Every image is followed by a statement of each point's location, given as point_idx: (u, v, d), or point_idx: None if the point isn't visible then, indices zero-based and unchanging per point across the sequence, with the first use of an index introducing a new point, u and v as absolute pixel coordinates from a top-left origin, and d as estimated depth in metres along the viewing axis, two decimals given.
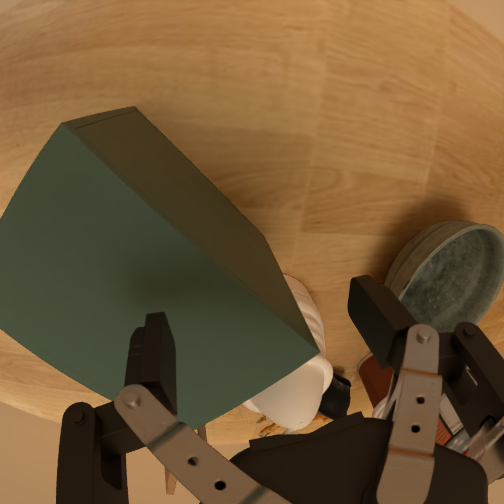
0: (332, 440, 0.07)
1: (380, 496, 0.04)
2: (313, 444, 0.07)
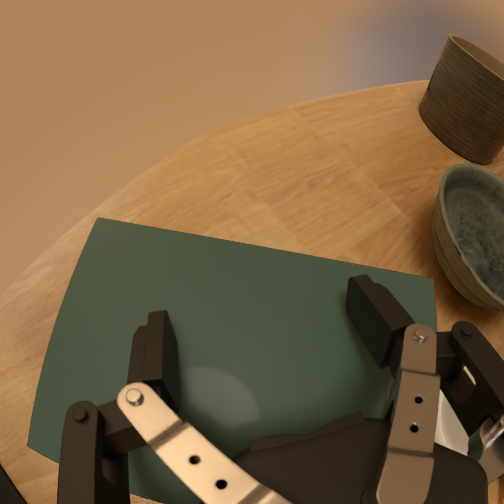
0: (332, 440, 0.07)
1: (380, 496, 0.04)
2: (313, 444, 0.07)
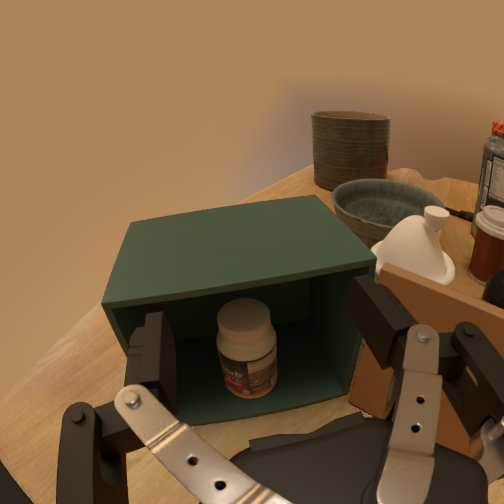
0: (332, 440, 0.07)
1: (380, 496, 0.04)
2: (313, 444, 0.07)
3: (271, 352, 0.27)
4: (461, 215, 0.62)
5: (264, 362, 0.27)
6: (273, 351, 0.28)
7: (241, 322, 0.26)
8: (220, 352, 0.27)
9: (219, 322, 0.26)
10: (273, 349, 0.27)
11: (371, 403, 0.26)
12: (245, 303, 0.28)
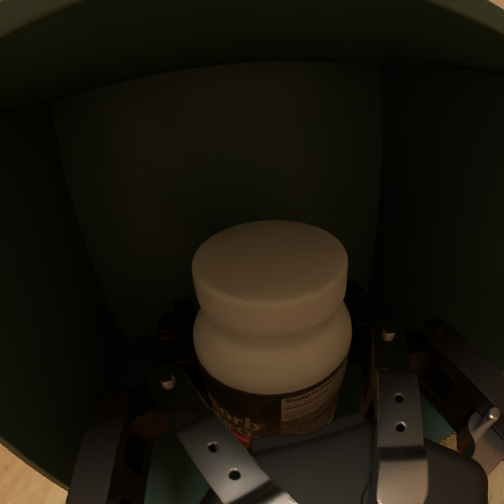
0: (332, 440, 0.07)
1: (381, 501, 0.04)
2: (313, 444, 0.07)
3: (344, 362, 0.09)
4: None
5: (327, 390, 0.09)
6: (346, 360, 0.10)
7: (265, 271, 0.08)
8: (203, 367, 0.09)
9: (196, 275, 0.08)
10: (347, 354, 0.10)
11: None
12: (271, 230, 0.10)
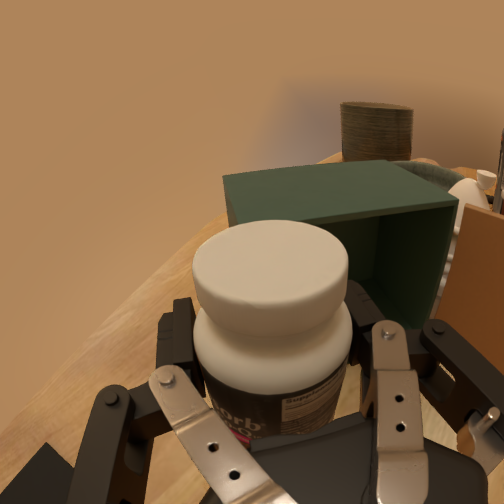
0: (332, 440, 0.07)
1: (381, 501, 0.04)
2: (313, 444, 0.07)
3: (344, 362, 0.09)
4: None
5: (327, 391, 0.09)
6: (347, 360, 0.10)
7: (266, 271, 0.08)
8: (203, 367, 0.09)
9: (197, 275, 0.08)
10: (348, 354, 0.10)
11: None
12: (272, 230, 0.10)
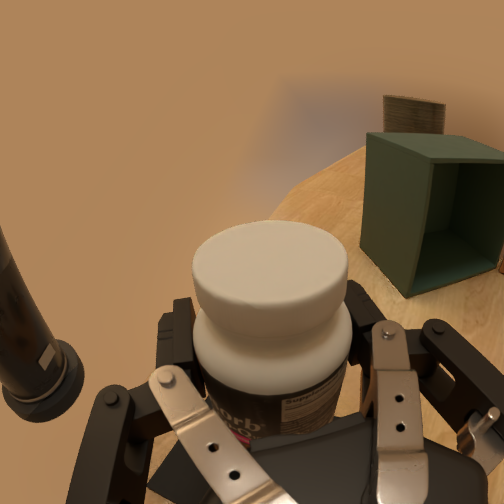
0: (332, 440, 0.07)
1: (381, 501, 0.04)
2: (313, 444, 0.07)
3: (344, 363, 0.09)
4: None
5: (327, 391, 0.09)
6: (347, 360, 0.10)
7: (265, 272, 0.08)
8: (203, 368, 0.09)
9: (197, 275, 0.08)
10: (348, 355, 0.10)
11: None
12: (272, 230, 0.10)
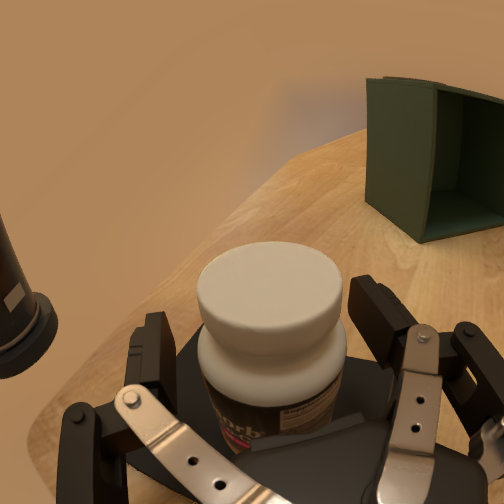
0: (332, 440, 0.07)
1: (380, 496, 0.04)
2: (313, 444, 0.07)
3: (338, 376, 0.10)
4: None
5: (323, 402, 0.10)
6: (341, 373, 0.10)
7: (265, 296, 0.09)
8: (207, 380, 0.10)
9: (201, 298, 0.09)
10: (342, 368, 0.10)
11: None
12: (271, 252, 0.11)
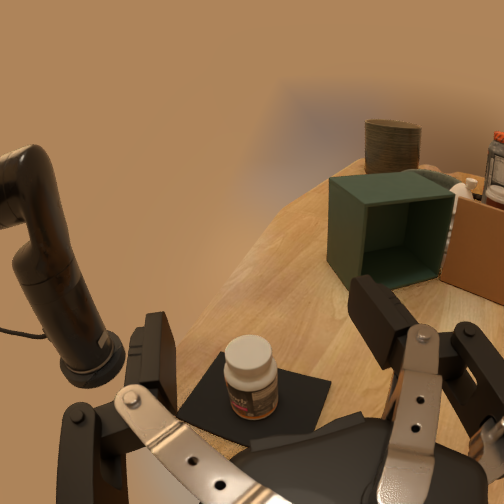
0: (332, 440, 0.07)
1: (380, 496, 0.04)
2: (313, 444, 0.07)
3: (273, 382, 0.30)
4: (473, 196, 0.85)
5: (267, 391, 0.30)
6: (274, 381, 0.30)
7: (246, 358, 0.29)
8: (227, 383, 0.30)
9: (227, 358, 0.29)
10: (274, 379, 0.30)
11: (453, 276, 0.49)
12: (249, 340, 0.31)
